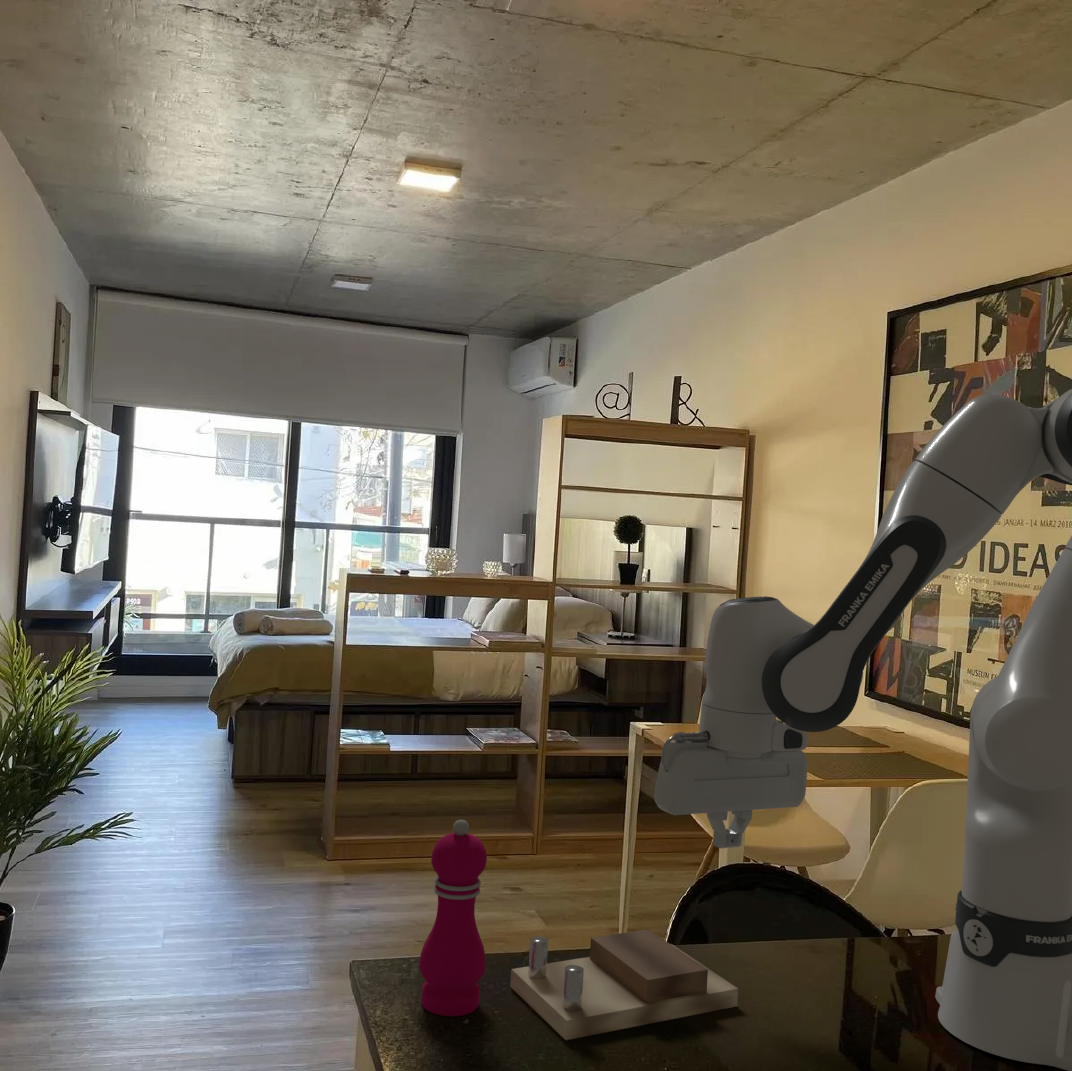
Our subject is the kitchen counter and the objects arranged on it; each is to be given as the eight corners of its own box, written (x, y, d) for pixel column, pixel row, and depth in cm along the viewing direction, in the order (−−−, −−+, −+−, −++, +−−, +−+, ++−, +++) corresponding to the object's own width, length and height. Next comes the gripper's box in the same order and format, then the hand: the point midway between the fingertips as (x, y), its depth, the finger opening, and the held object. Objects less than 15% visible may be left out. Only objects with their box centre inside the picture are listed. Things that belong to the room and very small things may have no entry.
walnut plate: (646, 949, 124) (647, 929, 124) (706, 991, 113) (708, 969, 113) (589, 958, 120) (590, 937, 120) (646, 1003, 109) (647, 980, 109)
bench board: (670, 960, 126) (673, 911, 126) (737, 1006, 115) (740, 952, 115) (510, 986, 116) (513, 933, 116) (565, 1040, 104) (569, 981, 104)
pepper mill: (473, 1023, 107) (485, 832, 107) (407, 1013, 108) (419, 824, 108) (490, 994, 114) (501, 815, 114) (428, 984, 115) (439, 807, 115)
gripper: (680, 738, 114) (670, 861, 114) (819, 735, 124) (809, 848, 124) (649, 726, 120) (639, 843, 120) (784, 724, 129) (774, 832, 129)
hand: (726, 846), depth 122 cm, fingers closed
